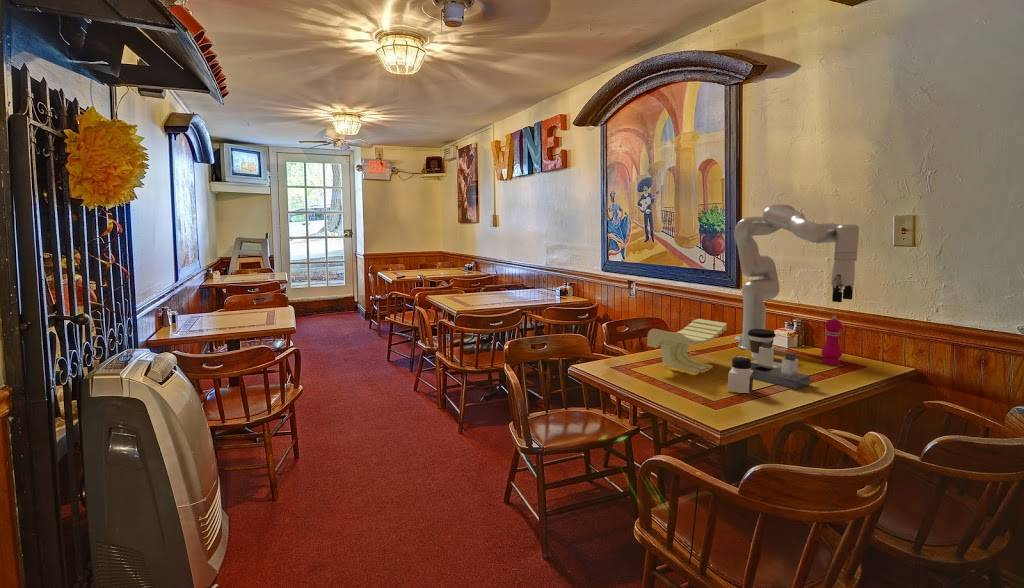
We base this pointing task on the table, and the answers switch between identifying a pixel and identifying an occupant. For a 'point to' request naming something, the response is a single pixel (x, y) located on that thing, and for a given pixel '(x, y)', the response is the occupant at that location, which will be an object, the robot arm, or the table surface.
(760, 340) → the coffee cup
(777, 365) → the tray
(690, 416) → the table surface
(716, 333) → the slatted curved stool
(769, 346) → the plug
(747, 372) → the medicine bottle
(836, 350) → the pepper mill
